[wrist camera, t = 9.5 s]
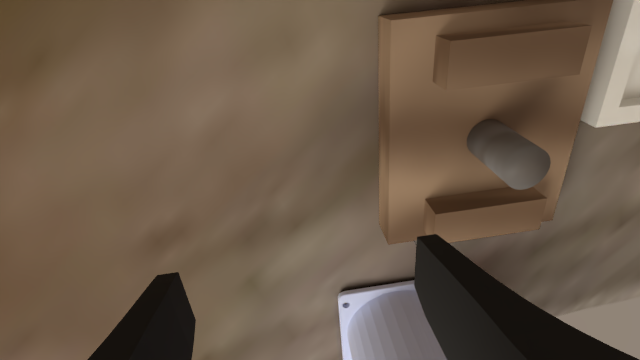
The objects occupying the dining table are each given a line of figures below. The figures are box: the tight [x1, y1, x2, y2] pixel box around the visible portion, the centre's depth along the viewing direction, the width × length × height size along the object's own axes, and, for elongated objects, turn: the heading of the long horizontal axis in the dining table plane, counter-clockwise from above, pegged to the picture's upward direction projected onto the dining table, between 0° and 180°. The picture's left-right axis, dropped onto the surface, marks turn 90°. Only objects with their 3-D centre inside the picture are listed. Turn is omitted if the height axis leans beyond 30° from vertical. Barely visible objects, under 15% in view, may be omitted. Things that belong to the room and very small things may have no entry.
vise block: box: [378, 0, 613, 245], centre depth 19 cm, size 13×10×6 cm
